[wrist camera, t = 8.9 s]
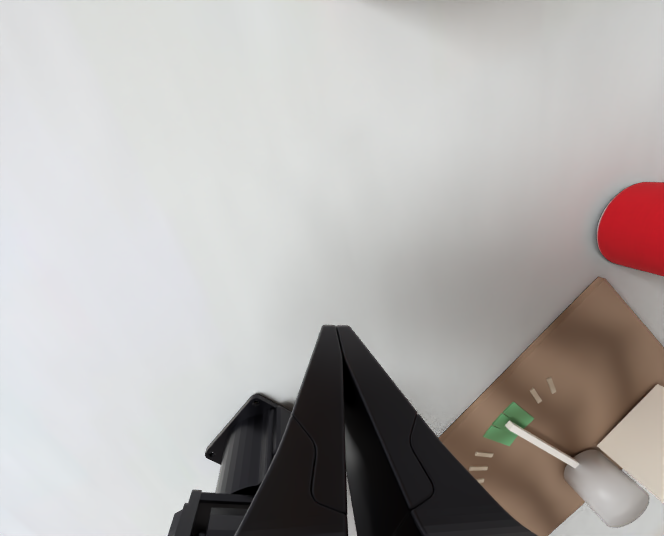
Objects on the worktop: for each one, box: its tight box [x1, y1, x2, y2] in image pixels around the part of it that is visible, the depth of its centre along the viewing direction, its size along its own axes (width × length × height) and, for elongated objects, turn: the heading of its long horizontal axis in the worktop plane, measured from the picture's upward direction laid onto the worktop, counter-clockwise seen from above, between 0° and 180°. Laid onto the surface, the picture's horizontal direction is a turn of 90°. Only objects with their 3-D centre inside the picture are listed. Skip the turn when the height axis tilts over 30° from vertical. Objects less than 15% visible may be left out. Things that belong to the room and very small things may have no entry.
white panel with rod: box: [505, 384, 664, 528], centre depth 23 cm, size 13×14×12 cm
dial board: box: [439, 277, 664, 536], centre depth 29 cm, size 24×20×1 cm
